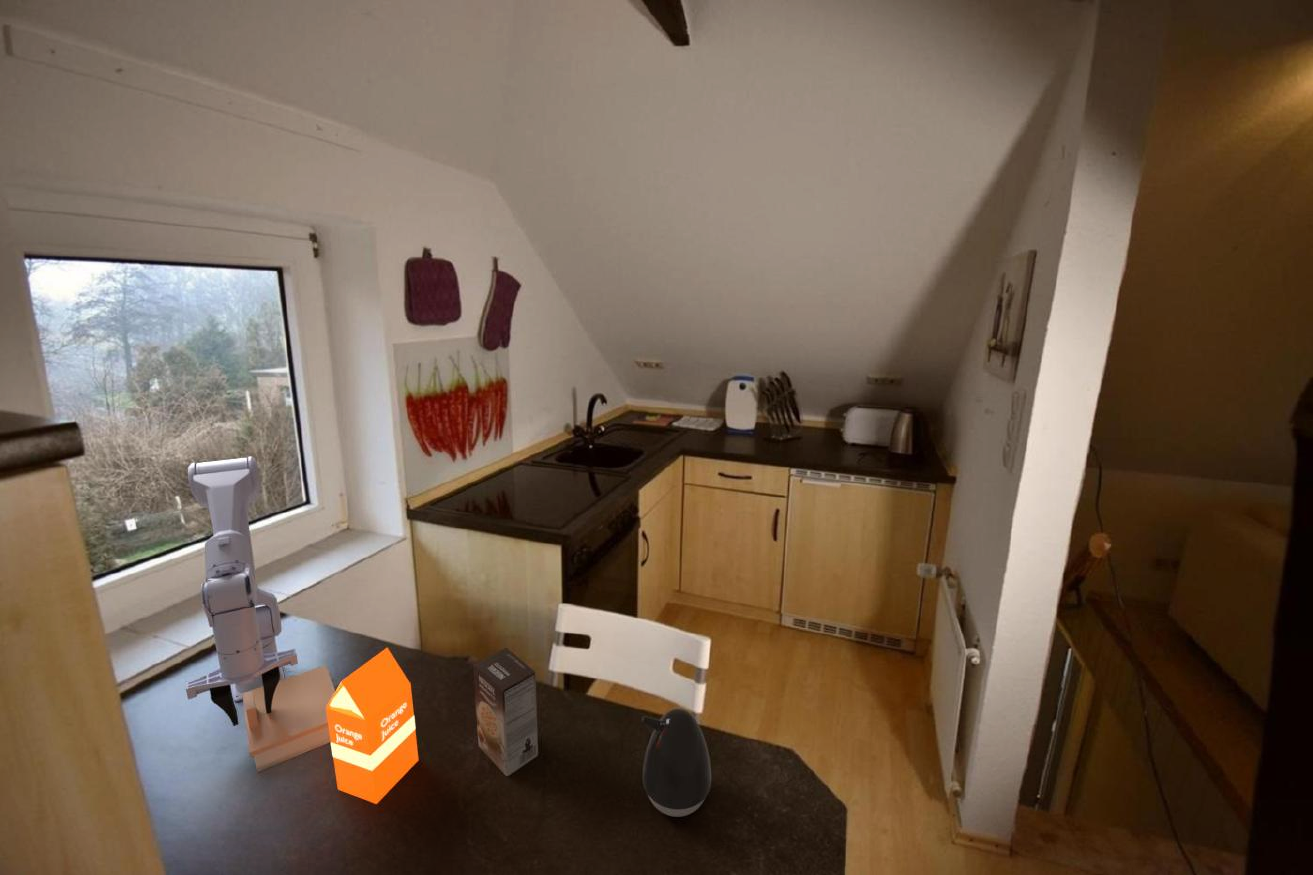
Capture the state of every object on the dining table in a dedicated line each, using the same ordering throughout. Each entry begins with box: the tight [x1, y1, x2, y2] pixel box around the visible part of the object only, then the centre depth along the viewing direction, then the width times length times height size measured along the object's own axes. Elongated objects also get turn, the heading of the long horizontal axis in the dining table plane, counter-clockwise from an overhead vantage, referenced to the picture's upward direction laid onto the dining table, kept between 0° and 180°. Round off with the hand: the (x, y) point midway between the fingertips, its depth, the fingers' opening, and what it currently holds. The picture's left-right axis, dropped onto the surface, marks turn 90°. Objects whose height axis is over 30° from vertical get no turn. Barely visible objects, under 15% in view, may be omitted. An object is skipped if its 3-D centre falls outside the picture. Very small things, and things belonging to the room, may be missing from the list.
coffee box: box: [472, 647, 539, 777], centre depth 91 cm, size 9×6×16 cm
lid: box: [242, 664, 336, 758], centre depth 96 cm, size 17×13×5 cm
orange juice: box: [326, 646, 419, 805], centre depth 86 cm, size 8×9×20 cm
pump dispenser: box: [641, 707, 712, 818], centre depth 83 cm, size 10×10×15 cm
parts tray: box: [253, 726, 331, 773], centre depth 97 cm, size 16×12×4 cm
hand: (252, 715), depth 93 cm, fingers open, 4 cm apart
